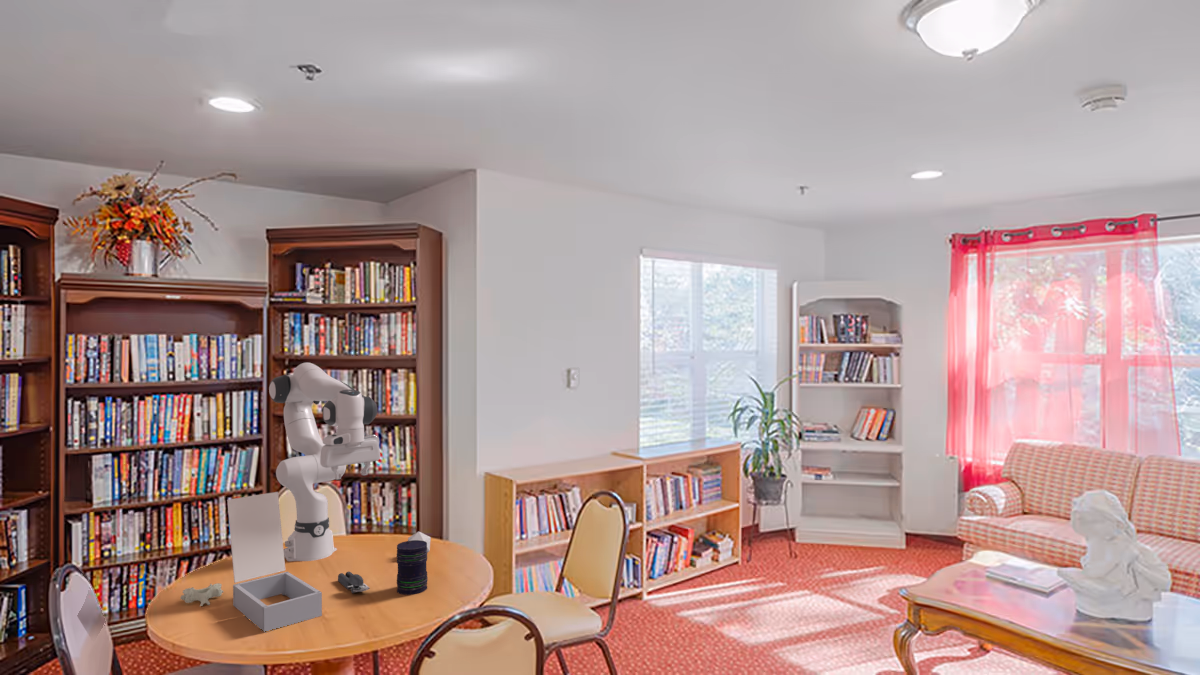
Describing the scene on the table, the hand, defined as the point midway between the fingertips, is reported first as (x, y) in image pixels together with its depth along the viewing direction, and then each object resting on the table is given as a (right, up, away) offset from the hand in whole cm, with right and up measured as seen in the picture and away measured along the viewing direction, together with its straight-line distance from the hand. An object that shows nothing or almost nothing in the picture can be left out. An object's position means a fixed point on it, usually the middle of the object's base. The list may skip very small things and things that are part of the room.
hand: (351, 477), depth 234 cm
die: (+17, -36, +24) cm, 46 cm away
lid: (-25, -16, -15) cm, 33 cm away
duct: (-13, -36, -27) cm, 46 cm away
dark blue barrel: (+24, -36, -9) cm, 44 cm away
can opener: (+3, -36, -7) cm, 37 cm away
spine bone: (-40, -36, -19) cm, 57 cm away
